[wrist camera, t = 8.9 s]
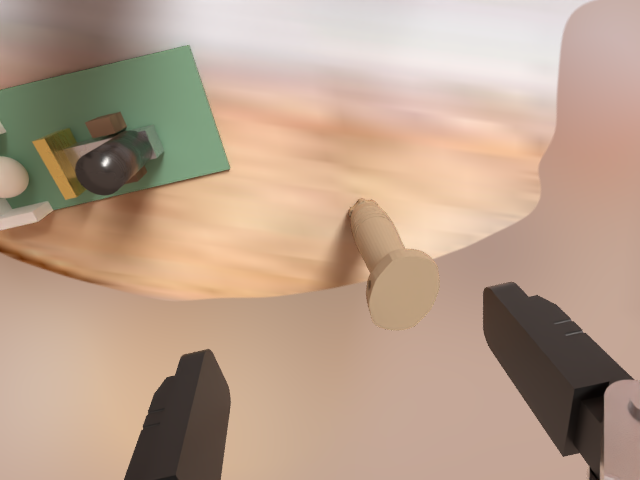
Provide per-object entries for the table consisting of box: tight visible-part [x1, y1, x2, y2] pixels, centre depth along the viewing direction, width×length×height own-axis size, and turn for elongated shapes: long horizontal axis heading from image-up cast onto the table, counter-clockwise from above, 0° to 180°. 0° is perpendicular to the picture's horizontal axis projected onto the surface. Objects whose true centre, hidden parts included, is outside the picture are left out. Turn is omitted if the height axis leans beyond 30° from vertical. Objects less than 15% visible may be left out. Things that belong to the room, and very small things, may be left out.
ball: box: [0, 156, 29, 198], centre depth 33 cm, size 4×4×4 cm
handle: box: [349, 198, 440, 330], centre depth 34 cm, size 5×6×15 cm
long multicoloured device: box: [32, 125, 164, 200], centre depth 30 cm, size 8×5×9 cm, turn 102°
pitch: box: [0, 45, 230, 210], centre depth 34 cm, size 11×22×1 cm, turn 102°
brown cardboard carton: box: [85, 112, 147, 184], centre depth 33 cm, size 6×2×3 cm, turn 12°
